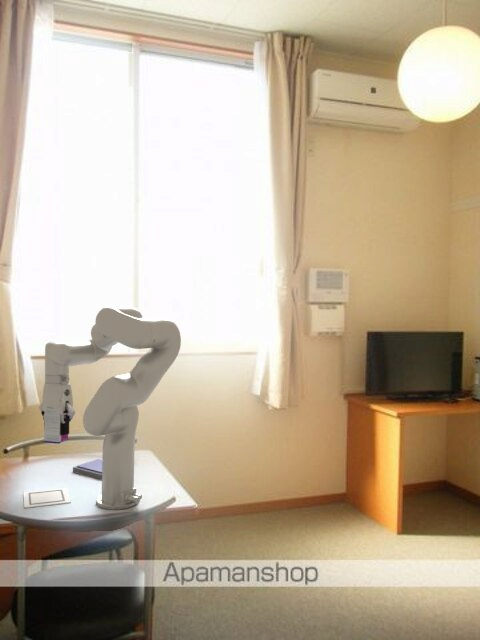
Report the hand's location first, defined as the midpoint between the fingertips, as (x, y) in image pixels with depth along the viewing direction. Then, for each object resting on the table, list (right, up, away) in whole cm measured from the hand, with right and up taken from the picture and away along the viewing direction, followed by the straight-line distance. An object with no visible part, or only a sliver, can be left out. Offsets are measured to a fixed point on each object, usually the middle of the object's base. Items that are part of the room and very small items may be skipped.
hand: (56, 432), depth 178 cm
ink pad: (+10, -17, +15) cm, 25 cm away
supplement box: (0, -3, 0) cm, 3 cm away
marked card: (+1, -18, -12) cm, 21 cm away
